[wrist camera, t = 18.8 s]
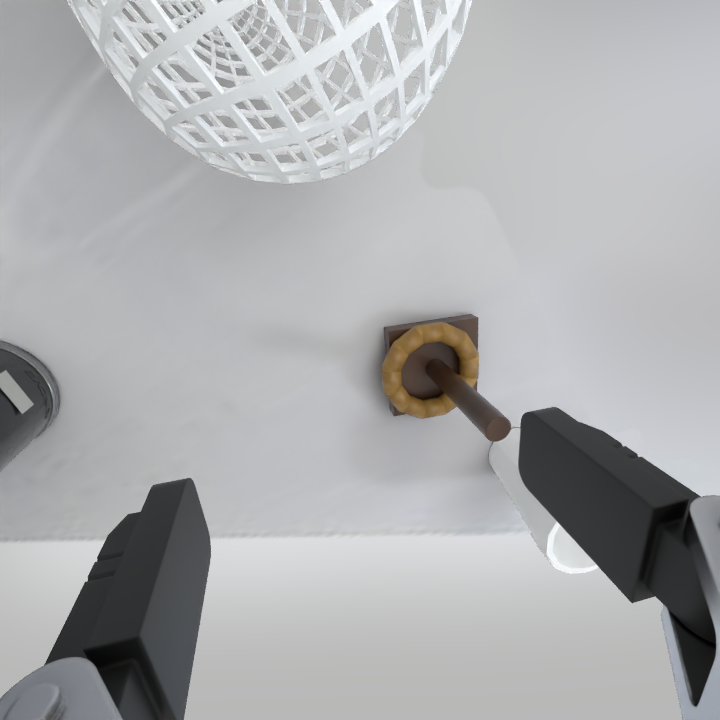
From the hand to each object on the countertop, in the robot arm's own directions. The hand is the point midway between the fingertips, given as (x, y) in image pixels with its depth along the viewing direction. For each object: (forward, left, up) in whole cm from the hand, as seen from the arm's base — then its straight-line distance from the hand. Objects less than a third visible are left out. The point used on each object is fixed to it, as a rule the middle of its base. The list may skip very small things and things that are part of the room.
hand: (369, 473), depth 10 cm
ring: (+11, -10, -26) cm, 30 cm away
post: (+12, -10, -28) cm, 32 cm away
